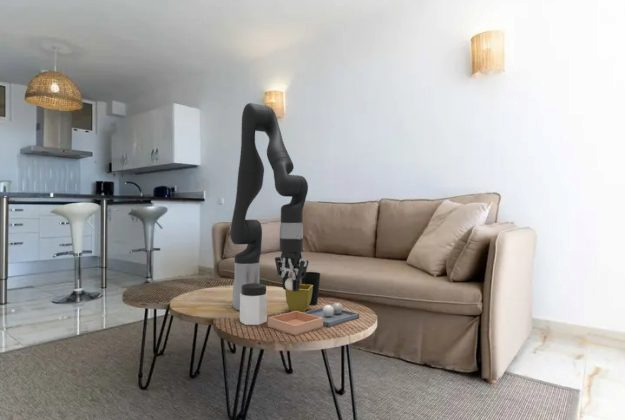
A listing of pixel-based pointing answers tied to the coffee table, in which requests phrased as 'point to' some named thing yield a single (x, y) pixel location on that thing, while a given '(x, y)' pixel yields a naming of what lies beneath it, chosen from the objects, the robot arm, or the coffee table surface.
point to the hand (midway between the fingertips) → (290, 289)
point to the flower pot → (299, 298)
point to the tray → (334, 317)
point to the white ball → (289, 283)
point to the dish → (295, 323)
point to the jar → (253, 304)
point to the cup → (314, 280)
